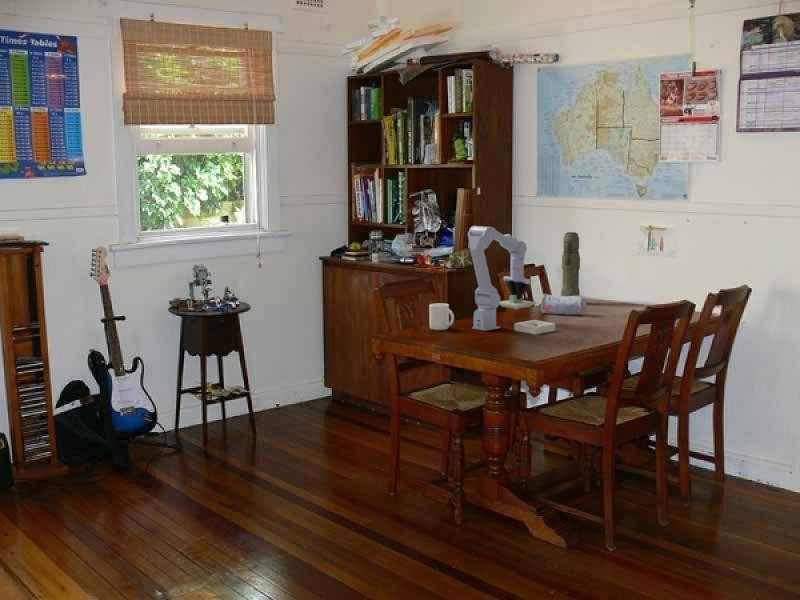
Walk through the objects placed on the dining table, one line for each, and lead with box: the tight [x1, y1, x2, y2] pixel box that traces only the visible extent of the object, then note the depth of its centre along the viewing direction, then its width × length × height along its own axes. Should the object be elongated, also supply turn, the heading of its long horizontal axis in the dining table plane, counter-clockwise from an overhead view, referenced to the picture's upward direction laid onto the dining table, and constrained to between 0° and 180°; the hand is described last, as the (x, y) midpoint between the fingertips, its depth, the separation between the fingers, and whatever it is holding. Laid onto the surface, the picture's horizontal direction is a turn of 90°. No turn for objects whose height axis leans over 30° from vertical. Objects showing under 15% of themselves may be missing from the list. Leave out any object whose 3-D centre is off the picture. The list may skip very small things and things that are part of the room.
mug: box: [428, 302, 455, 331], centre depth 397 cm, size 12×8×10 cm
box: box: [513, 319, 556, 335], centre depth 391 cm, size 12×12×3 cm
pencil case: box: [538, 293, 587, 316], centre depth 429 cm, size 21×9×10 cm, turn 63°
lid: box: [499, 294, 537, 310], centre depth 410 cm, size 12×12×5 cm
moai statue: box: [560, 231, 581, 296], centre depth 457 cm, size 9×12×35 cm
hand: (516, 298), depth 410 cm, fingers closed on lid, 2 cm apart
